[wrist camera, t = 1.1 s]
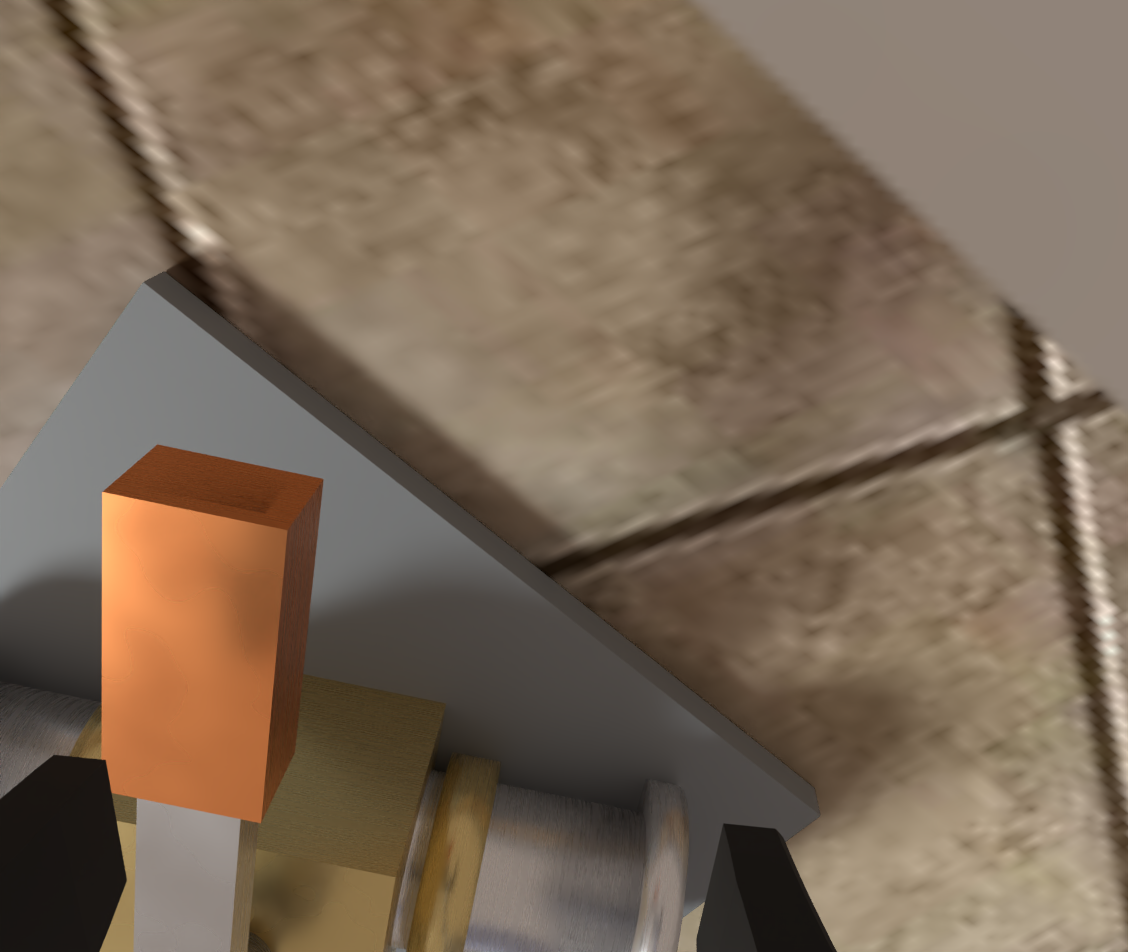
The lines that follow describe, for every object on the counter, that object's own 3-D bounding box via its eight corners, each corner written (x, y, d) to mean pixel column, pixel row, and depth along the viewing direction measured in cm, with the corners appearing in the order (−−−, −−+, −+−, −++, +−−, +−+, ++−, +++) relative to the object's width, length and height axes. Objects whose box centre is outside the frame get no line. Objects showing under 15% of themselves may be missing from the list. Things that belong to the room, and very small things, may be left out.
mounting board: (814, 788, 26) (820, 815, 25) (435, 1074, 32) (429, 1105, 31) (164, 271, 22) (143, 282, 21) (-142, 709, 27) (-169, 732, 26)
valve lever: (270, 1085, 20) (238, 1175, 18) (130, 1057, 20) (86, 1145, 18) (337, 481, 14) (300, 536, 13) (143, 441, 14) (83, 491, 13)
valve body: (686, 732, 25) (702, 1002, 18) (633, 902, 28) (629, 1198, 21) (-21, 586, 25) (-279, 804, 18) (-11, 771, 28) (-234, 1026, 21)
